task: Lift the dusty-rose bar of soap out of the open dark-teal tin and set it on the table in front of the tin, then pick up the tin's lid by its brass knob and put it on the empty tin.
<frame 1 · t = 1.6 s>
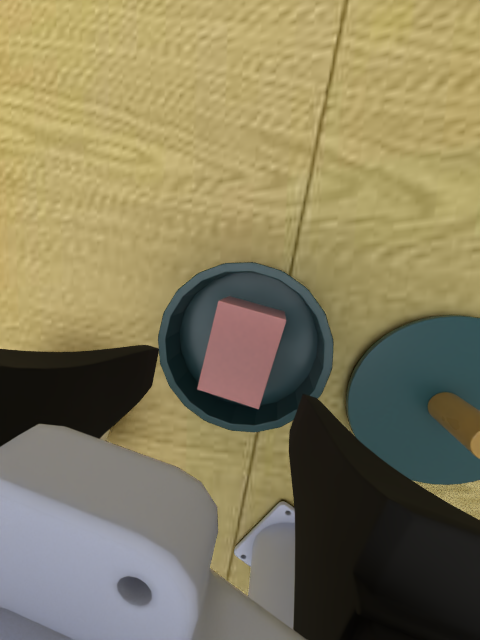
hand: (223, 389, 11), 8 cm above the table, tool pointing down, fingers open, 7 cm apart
tin: (246, 341, 20), on the table
lid: (439, 402, 18), point 1 cm above the table
soap: (245, 342, 19), resting on tin
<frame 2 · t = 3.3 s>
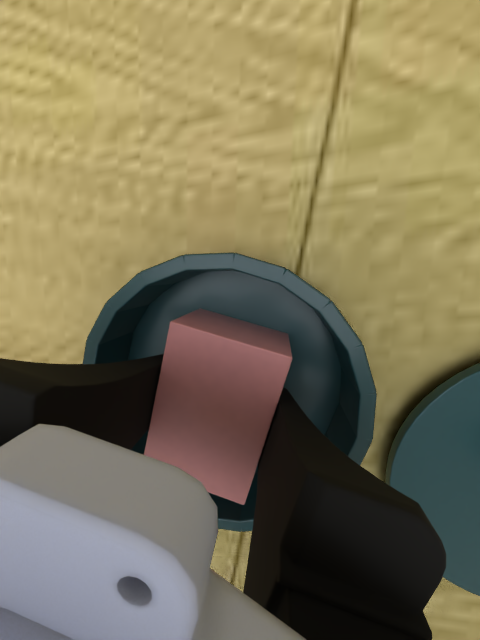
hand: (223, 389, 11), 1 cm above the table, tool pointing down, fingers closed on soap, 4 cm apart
tin: (229, 376, 13), on the table
soap: (227, 380, 12), resting on tin, touching gripper
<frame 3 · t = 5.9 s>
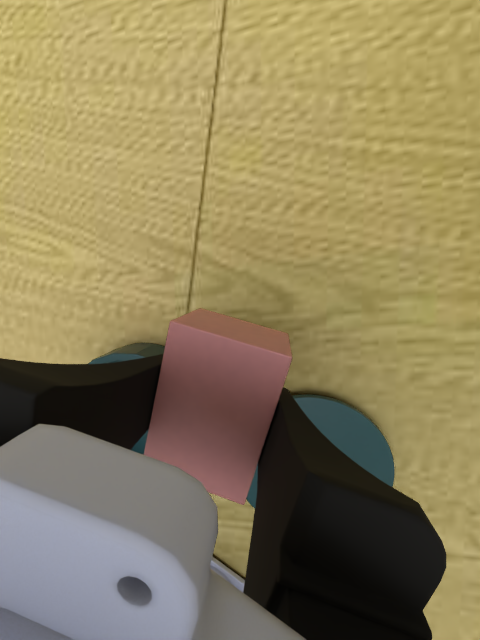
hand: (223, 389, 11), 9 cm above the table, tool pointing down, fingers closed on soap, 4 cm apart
tin: (151, 405, 22), on the table
lid: (308, 465, 20), point 1 cm above the table
soap: (227, 379, 12), point 8 cm above the table, touching gripper
when the fingers open (1 cm above the table, at t = 8.3 s): soap stays where it is, on the table.
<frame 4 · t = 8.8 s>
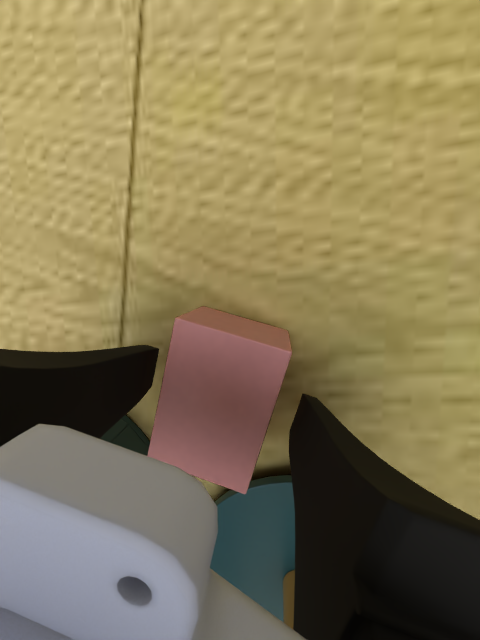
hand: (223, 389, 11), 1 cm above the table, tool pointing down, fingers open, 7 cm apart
tin: (78, 475, 16), on the table
lid: (302, 573, 14), point 1 cm above the table
soap: (229, 375, 13), on the table
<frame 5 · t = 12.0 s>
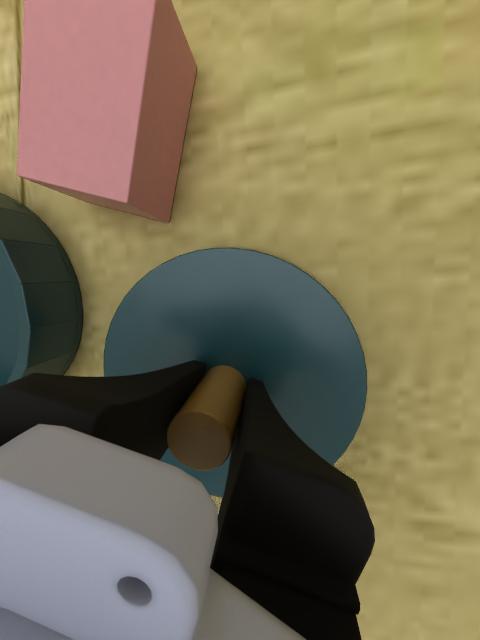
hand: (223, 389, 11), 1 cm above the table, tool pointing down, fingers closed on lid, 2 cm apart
lid: (226, 381, 12), point 1 cm above the table, touching gripper
soap: (137, 140, 11), on the table
when the fingers open (4 cm above the table, at t = 16.3 s): lid stays where it is, resting on tin.
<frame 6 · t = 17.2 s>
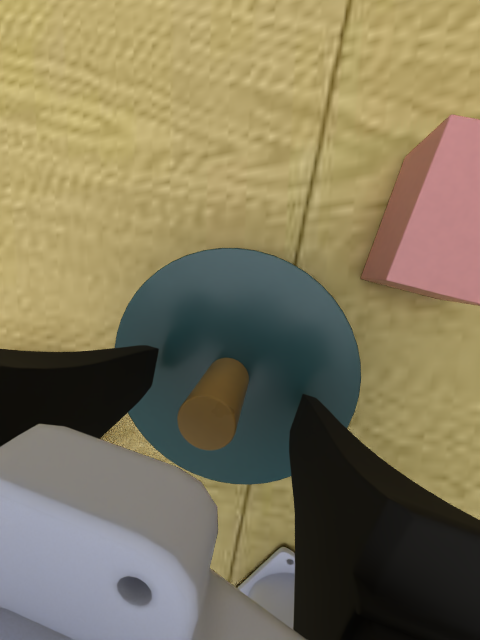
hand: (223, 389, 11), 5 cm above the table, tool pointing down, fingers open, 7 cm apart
lid: (229, 373, 13), point 3 cm above the table, touching tin
soap: (423, 230, 13), on the table
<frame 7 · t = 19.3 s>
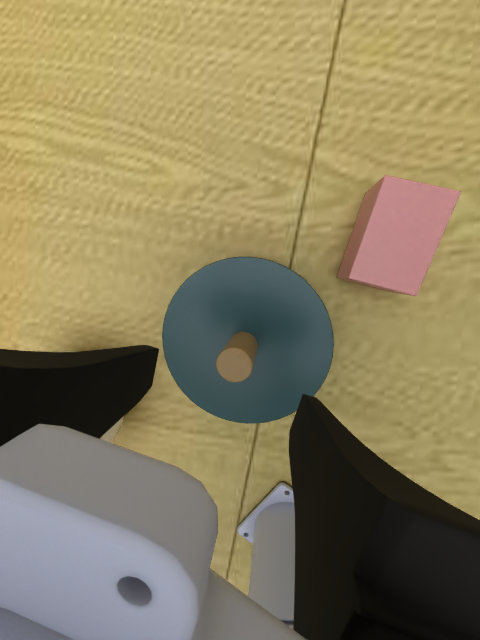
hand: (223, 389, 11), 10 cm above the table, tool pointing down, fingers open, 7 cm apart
lid: (244, 343, 19), point 3 cm above the table, touching tin
soap: (379, 243, 18), on the table
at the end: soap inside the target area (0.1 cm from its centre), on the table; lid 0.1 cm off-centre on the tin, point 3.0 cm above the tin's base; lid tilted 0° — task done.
